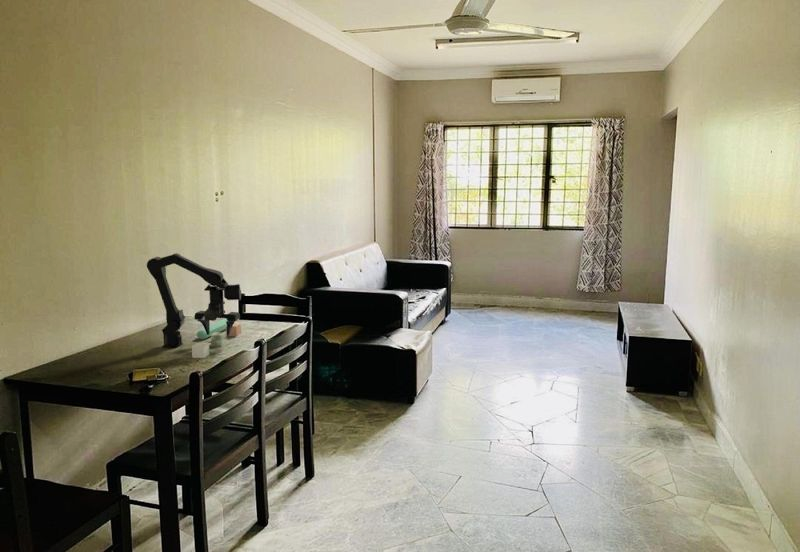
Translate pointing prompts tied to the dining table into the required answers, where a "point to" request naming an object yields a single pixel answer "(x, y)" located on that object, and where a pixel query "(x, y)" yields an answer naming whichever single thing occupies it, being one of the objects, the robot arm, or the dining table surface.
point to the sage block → (218, 339)
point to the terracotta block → (234, 330)
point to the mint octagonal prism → (212, 329)
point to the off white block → (200, 350)
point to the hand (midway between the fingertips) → (218, 335)
